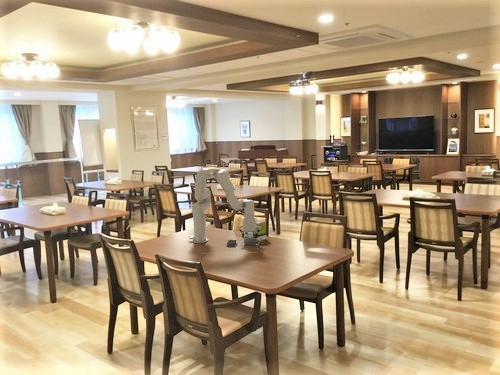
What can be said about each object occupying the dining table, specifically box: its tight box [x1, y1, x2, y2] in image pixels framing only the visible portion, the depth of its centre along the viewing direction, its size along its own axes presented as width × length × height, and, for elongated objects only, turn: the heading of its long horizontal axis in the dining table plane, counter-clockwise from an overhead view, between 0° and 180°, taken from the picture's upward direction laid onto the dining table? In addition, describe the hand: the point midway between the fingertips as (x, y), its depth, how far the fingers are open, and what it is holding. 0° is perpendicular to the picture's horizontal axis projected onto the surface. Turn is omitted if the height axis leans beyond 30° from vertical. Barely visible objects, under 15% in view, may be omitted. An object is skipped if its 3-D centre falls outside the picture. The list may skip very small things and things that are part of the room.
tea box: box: [244, 219, 267, 242], centre depth 353 cm, size 15×10×15 cm, turn 43°
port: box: [240, 235, 261, 248], centre depth 336 cm, size 14×12×6 cm
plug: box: [247, 232, 253, 238], centre depth 336 cm, size 4×4×9 cm
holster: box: [225, 239, 238, 248], centre depth 335 cm, size 8×9×4 cm
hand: (249, 238), depth 336 cm, fingers open, 9 cm apart
